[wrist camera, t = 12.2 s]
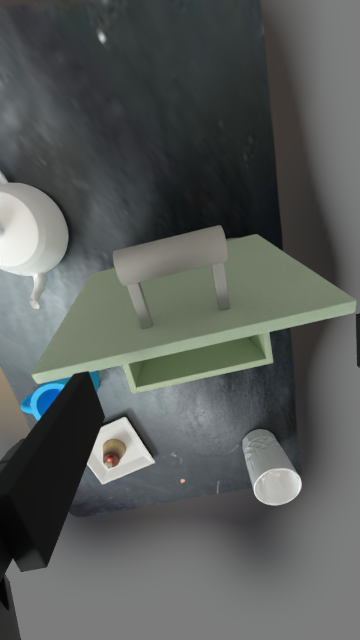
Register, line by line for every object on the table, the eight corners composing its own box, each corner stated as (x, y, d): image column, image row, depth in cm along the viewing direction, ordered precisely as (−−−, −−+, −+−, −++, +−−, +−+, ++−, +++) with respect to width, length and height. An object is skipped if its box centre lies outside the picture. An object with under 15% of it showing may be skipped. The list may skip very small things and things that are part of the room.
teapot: (95, 287, 43) (73, 301, 33) (24, 307, 44) (-18, 326, 34) (46, 151, 37) (1, 120, 27) (-36, 175, 38) (-108, 154, 28)
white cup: (275, 422, 52) (298, 463, 42) (280, 453, 54) (304, 499, 44) (235, 431, 52) (250, 474, 42) (242, 462, 54) (258, 509, 45)
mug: (90, 354, 46) (74, 377, 39) (105, 393, 49) (93, 423, 41) (26, 370, 47) (-4, 396, 39) (44, 408, 49) (20, 440, 41)
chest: (246, 329, 46) (273, 362, 34) (142, 353, 47) (131, 394, 34) (231, 237, 41) (255, 237, 29) (116, 265, 42) (93, 276, 30)
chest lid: (355, 312, 15) (371, 202, 12) (36, 384, 15) (-23, 297, 13) (257, 240, 29) (253, 182, 26) (93, 280, 30) (71, 227, 27)
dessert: (126, 412, 50) (121, 430, 45) (155, 458, 53) (154, 478, 49) (71, 436, 51) (62, 456, 47) (103, 479, 55) (97, 501, 50)
